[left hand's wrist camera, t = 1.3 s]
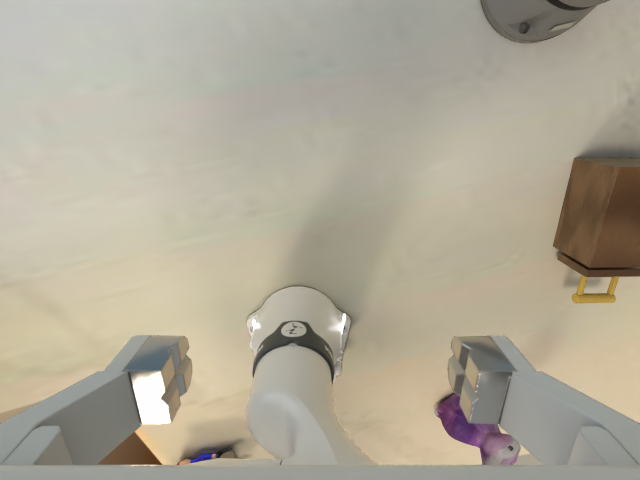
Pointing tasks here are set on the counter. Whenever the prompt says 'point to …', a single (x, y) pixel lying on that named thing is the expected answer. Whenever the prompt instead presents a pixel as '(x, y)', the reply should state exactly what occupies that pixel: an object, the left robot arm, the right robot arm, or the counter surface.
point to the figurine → (478, 434)
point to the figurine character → (210, 457)
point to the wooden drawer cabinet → (602, 213)
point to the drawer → (596, 272)
